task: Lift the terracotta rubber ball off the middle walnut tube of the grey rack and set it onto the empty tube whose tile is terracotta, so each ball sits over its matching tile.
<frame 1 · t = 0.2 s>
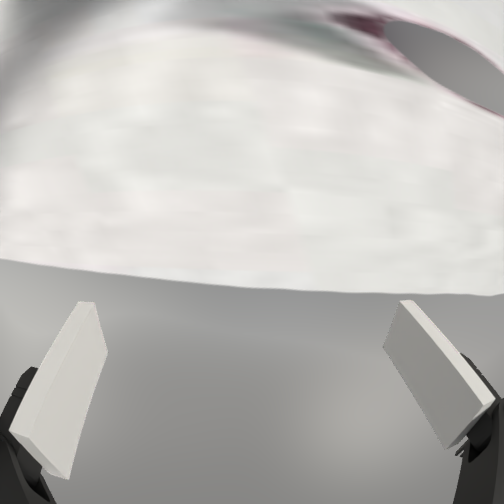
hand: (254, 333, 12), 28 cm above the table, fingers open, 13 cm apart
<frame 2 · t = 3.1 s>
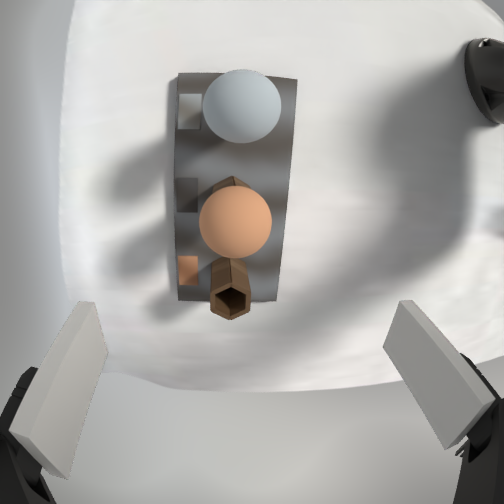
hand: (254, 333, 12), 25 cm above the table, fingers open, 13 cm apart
ball grey: (239, 108, 24), point 8 cm above the table, touching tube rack
ball terracotta: (233, 211, 27), point 8 cm above the table, touching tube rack
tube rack: (231, 194, 34), on the table
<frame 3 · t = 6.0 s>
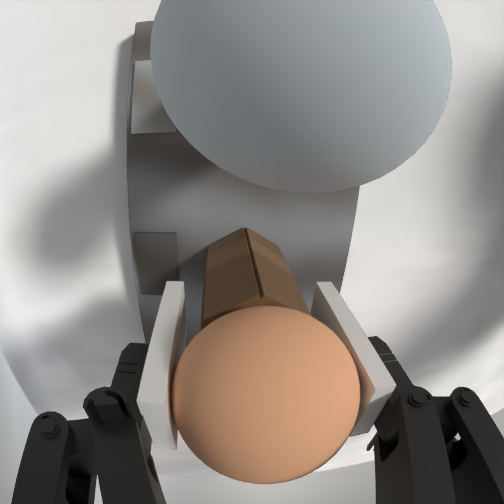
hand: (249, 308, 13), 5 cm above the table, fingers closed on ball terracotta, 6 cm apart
ball grey: (276, 75, 8), point 8 cm above the table, touching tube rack
ball terracotta: (255, 338, 11), point 8 cm above the table, touching gripper, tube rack
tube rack: (241, 258, 18), on the table
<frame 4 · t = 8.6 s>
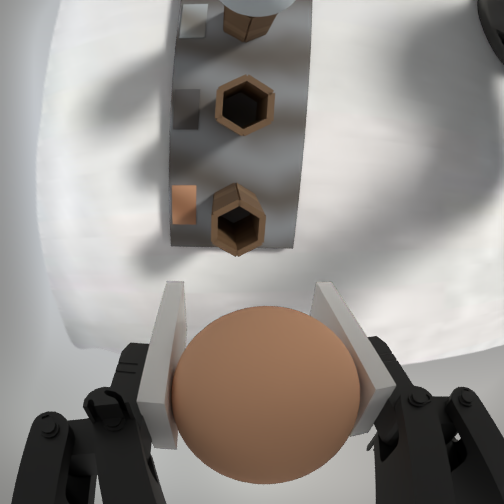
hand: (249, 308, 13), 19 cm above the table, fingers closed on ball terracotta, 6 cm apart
ball terracotta: (255, 338, 11), point 21 cm above the table, touching gripper
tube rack: (238, 110, 27), on the table
when the fingers open (7 cm above the table, at t = 11.3 s): ball terracotta drops 1 cm, resting on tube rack.
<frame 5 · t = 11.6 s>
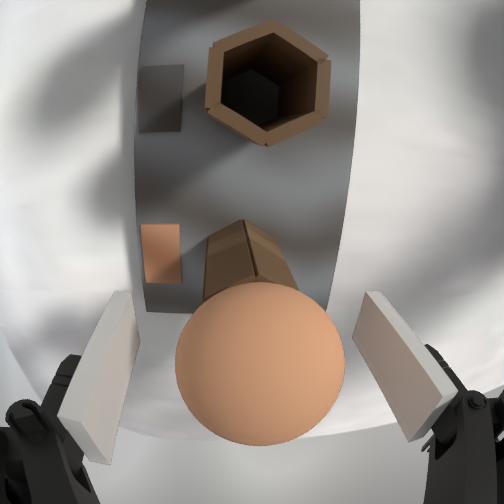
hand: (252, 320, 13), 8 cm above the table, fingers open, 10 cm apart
ball terracotta: (251, 316, 13), point 8 cm above the table, touching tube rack
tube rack: (248, 100, 16), on the table
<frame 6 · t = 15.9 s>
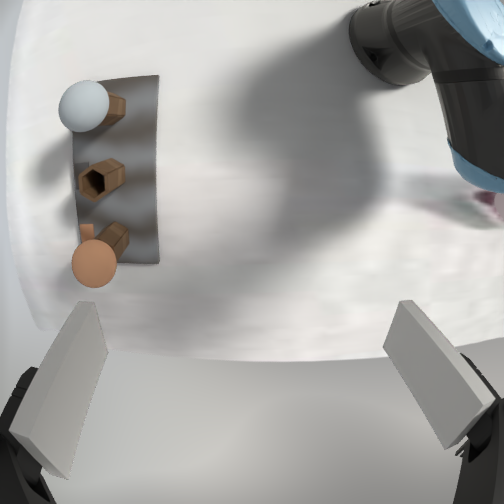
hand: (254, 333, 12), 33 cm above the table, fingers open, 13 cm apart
ball grey: (94, 107, 28), point 8 cm above the table, touching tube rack
ball terracotta: (101, 253, 36), point 8 cm above the table, touching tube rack
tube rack: (114, 173, 39), on the table
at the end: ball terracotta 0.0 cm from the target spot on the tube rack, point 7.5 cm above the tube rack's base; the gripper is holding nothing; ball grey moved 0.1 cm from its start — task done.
